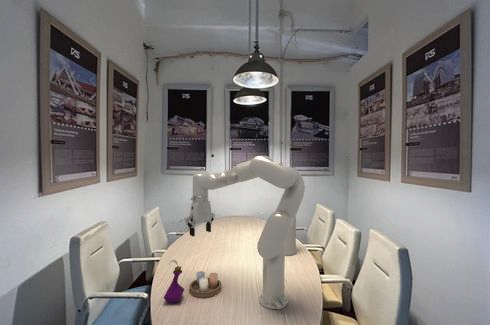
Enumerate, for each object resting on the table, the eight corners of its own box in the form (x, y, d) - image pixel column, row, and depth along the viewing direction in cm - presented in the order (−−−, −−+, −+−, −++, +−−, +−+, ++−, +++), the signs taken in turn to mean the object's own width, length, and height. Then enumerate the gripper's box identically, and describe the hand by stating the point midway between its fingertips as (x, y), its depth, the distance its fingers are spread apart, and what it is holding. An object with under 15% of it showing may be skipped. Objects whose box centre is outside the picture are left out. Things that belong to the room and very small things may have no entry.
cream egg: (208, 293, 118) (208, 280, 118) (199, 295, 117) (199, 281, 117) (207, 289, 122) (207, 276, 122) (198, 290, 121) (198, 278, 121)
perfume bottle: (184, 295, 118) (184, 256, 117) (181, 305, 110) (180, 263, 110) (168, 296, 117) (167, 257, 117) (163, 305, 110) (163, 263, 110)
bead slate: (206, 285, 126) (206, 273, 126) (199, 288, 123) (199, 275, 123) (201, 282, 129) (201, 270, 128) (194, 285, 126) (194, 273, 126)
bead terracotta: (209, 289, 122) (209, 277, 121) (208, 285, 125) (208, 273, 125) (218, 288, 123) (218, 276, 123) (216, 284, 127) (216, 272, 126)
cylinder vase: (295, 256, 164) (295, 217, 164) (276, 255, 167) (276, 217, 166) (295, 249, 177) (296, 213, 176) (277, 248, 179) (277, 213, 179)
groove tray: (223, 295, 118) (223, 290, 118) (190, 300, 114) (190, 295, 114) (218, 280, 132) (218, 275, 132) (188, 284, 128) (188, 279, 128)
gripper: (189, 201, 116) (190, 239, 116) (219, 197, 129) (219, 231, 129) (180, 200, 121) (180, 236, 122) (209, 196, 134) (209, 228, 134)
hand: (200, 233), depth 125 cm, fingers open, 9 cm apart
